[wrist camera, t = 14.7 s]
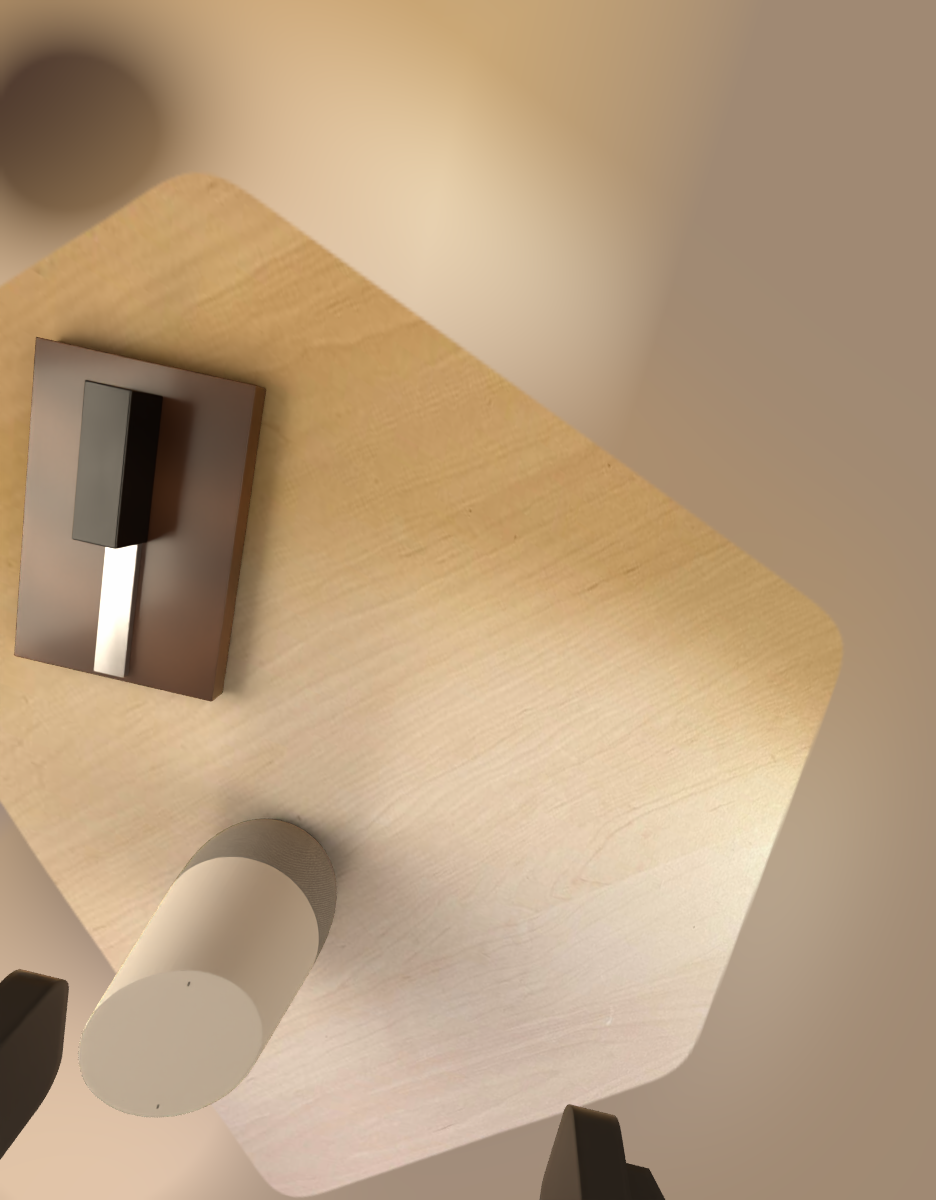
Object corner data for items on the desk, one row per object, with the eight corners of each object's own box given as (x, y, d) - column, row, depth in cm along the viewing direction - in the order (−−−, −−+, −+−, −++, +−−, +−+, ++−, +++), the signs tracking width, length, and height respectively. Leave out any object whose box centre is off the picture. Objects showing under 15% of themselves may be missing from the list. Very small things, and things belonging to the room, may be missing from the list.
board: (54, 341, 36) (35, 336, 34) (266, 388, 36) (256, 385, 34) (32, 648, 40) (13, 656, 38) (222, 693, 39) (211, 702, 38)
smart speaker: (326, 952, 43) (238, 1183, 29) (191, 909, 43) (40, 1120, 29) (364, 828, 41) (288, 1012, 27) (222, 783, 41) (75, 945, 27)
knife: (120, 386, 35) (84, 379, 32) (164, 396, 34) (131, 389, 32) (93, 667, 38) (58, 684, 35) (133, 676, 38) (101, 694, 35)
